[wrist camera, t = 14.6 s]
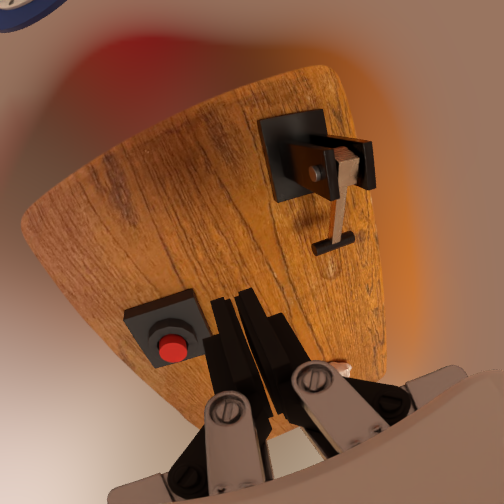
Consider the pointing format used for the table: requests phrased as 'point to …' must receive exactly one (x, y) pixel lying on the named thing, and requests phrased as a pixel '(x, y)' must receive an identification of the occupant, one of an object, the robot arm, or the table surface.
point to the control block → (168, 325)
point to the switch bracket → (309, 156)
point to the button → (172, 348)
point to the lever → (339, 203)
